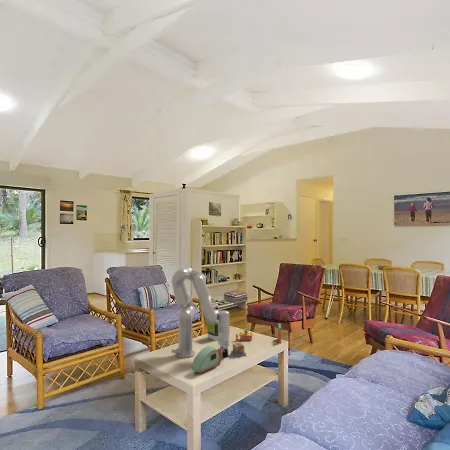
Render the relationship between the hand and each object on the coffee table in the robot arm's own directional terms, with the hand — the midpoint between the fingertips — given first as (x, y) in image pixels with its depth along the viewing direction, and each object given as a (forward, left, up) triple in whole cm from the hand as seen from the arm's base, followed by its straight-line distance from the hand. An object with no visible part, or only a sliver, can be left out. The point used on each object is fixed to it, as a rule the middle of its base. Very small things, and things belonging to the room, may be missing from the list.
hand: (223, 355), depth 232 cm
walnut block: (+10, -2, +2) cm, 10 cm away
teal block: (0, 0, -1) cm, 1 cm away
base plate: (+10, -2, -1) cm, 10 cm away
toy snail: (-16, -17, -1) cm, 23 cm away
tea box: (+9, +39, -1) cm, 40 cm away
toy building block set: (+35, +21, -1) cm, 41 cm away
